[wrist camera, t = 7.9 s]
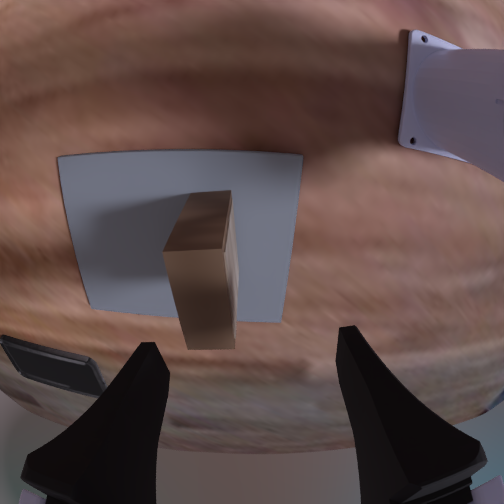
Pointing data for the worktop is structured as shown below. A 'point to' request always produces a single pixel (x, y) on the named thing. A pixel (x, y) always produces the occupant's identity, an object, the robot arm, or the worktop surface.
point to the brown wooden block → (205, 270)
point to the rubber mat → (165, 217)
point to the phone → (55, 367)
